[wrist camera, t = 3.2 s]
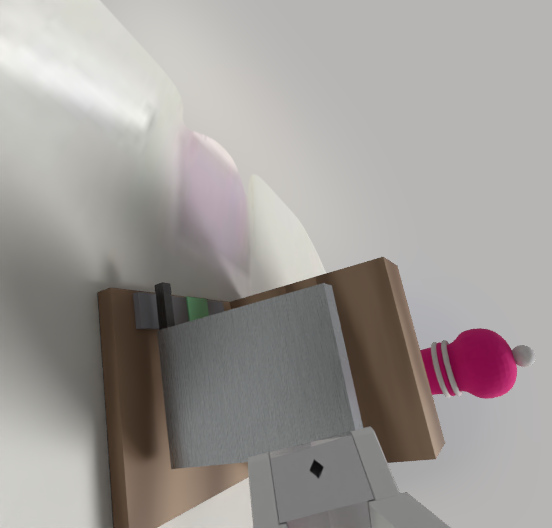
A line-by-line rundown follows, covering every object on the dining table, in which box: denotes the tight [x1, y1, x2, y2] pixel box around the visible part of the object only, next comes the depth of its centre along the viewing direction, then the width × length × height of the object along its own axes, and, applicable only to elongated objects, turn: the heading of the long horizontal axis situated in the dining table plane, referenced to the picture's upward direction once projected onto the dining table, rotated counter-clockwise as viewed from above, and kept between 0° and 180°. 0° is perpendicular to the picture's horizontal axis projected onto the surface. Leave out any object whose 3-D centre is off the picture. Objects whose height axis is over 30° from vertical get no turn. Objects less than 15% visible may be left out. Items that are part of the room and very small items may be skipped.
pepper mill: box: [420, 329, 535, 398], centre depth 39 cm, size 7×7×20 cm
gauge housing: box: [98, 257, 445, 528], centre depth 25 cm, size 15×12×13 cm
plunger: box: [155, 283, 363, 469], centre depth 25 cm, size 12×10×10 cm
